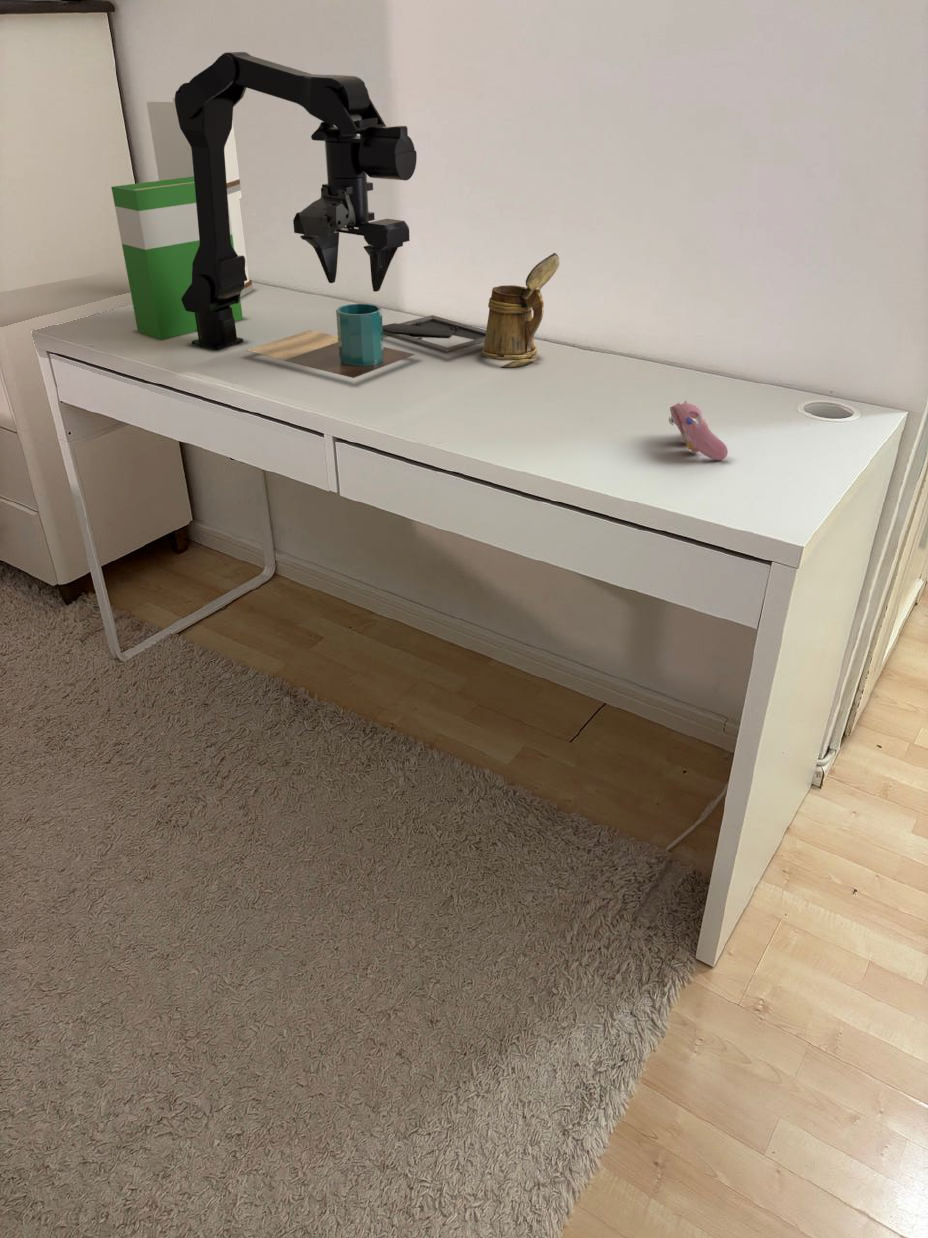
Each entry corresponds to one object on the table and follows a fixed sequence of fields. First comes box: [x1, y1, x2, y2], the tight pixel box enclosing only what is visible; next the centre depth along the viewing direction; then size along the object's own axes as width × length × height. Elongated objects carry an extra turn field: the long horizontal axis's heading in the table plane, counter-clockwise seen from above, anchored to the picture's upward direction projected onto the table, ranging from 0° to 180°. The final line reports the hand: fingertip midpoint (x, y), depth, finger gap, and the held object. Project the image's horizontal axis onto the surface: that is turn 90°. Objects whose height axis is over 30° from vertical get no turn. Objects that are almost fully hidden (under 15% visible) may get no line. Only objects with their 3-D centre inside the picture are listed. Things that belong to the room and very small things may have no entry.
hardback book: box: [111, 177, 244, 340], centre depth 168 cm, size 18×7×24 cm, turn 138°
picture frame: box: [382, 314, 486, 354], centre depth 165 cm, size 13×2×18 cm
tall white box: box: [146, 97, 254, 298], centre depth 184 cm, size 11×11×35 cm
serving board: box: [245, 329, 416, 379], centre depth 156 cm, size 24×15×1 cm, turn 53°
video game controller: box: [668, 400, 729, 461], centre depth 123 cm, size 10×5×7 cm, turn 5°
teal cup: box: [335, 303, 385, 366], centre depth 150 cm, size 7×7×8 cm
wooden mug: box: [481, 252, 560, 368], centre depth 150 cm, size 9×14×18 cm, turn 44°
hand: (353, 286), depth 146 cm, fingers open, 9 cm apart
